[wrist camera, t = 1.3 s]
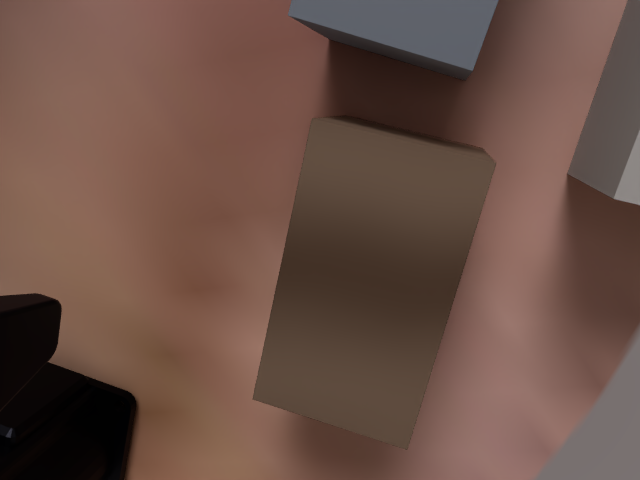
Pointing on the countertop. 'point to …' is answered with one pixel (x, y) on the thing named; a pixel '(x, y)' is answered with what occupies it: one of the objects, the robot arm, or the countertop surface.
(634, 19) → the cream brick
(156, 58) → the countertop surface
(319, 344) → the walnut brick
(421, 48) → the slate brick
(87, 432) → the robot arm
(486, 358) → the countertop surface
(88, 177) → the countertop surface
